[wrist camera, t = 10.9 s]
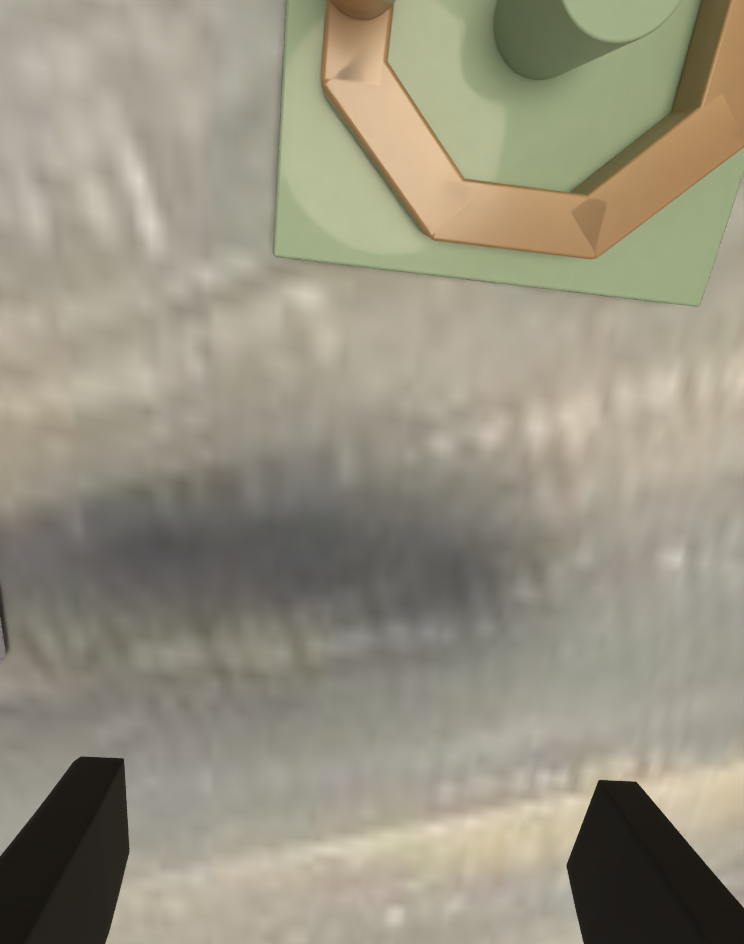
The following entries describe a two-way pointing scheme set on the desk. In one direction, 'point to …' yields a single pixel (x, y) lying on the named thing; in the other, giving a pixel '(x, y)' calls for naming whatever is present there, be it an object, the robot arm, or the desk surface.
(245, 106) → the desk surface
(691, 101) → the maple ring
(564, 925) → the desk surface
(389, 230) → the peg stand
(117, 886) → the robot arm
